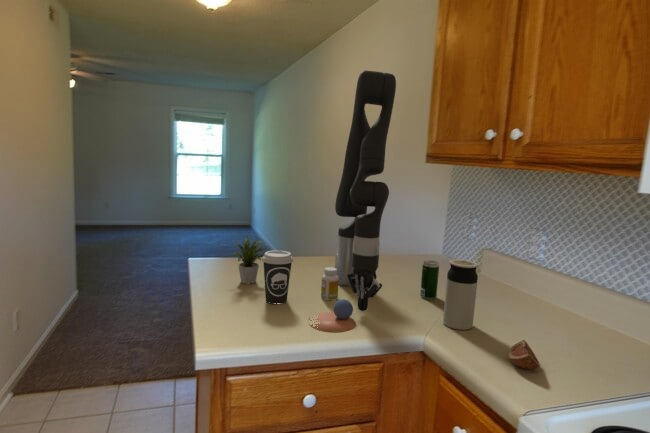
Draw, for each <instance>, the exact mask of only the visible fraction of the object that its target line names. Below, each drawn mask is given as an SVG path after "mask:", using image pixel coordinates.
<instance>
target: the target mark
mask: <svg viewBox="0 0 650 433" xmlns="http://www.w3.org/2000/svg"><path fill="white" fill-rule="evenodd" d="M318 314H319V315H318ZM314 315H316V317H317V315H318V318H317V319H315V320H318V322H320V324H319V323H318V324H315V325H316V326H315V327H314V328H313V329H315V328H317V327H318V328H317V329H316V330H318V329H319V330H318V331H321V330H322V332H326V331H327V333H343V332H346V331H349V330H351V329H353V328H354V327H356V321H355V320H354V318H352V316H350V317H349V318H347V319H339V318H338V317H336V315H335V314H334V312H320V313H316V314H314ZM312 318H313V317H312ZM314 318H315V317H314ZM308 319H309V318H308ZM309 320H310V319H309ZM313 320H314V319H313ZM319 320H320V321H319ZM310 321H312V320H310ZM316 322H317V321H316ZM314 323H315V322H314ZM317 325H318V326H317ZM312 326H313V324H312V325H311V326H310V327H312Z"/></svg>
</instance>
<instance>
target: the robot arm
mask: <svg viewBox="0 0 650 433" xmlns="http://www.w3.org/2000/svg"><path fill="white" fill-rule="evenodd" d="M396 89H397V81H396V76H395V75H394V74H393V73H390V72H383V71H376V70H375V71H374V70H367V69H366V70H361V72H360V73H359V76H358V78H357V83H356V88H355V94H354V95H355V96H354V103H353V104H354V105H353V111H352V112H353V113H352V120H351V125H350V130H349V135H348V140H347V145H346V150H345V155H344V162H343V169H342V174H341V178H340V183H339V186H338V190H337V193H336V198H335V204H334V207H335V208H334V209H335V210H334V211H335V213H336V215H337V216H339V217H341V218H342V217H343V218H354V219H353V220H351V222H349V223H347V224H344V225H341V226H340V227H339V228H338V232H337V233H338V235H337V253H336V254H335V258H334V259H335V260H334V261H335V263H334V268H336V269H337V274H336V275H337V276H338V277H339V283H338V285H341V286H345V287H351V290H352V292H353V294H356V296H357V309H358V310H359V311H361V312H365V311H367V310H368V307H369V306H368V305H369V299H370V298H371V299H372V298H374V297H375V296H376V295H377V294H378V292H379V291H380V290H381V289H382V287H383V284H382V283H381V282H380V283H379V282H378V280H377V279H378V278H377V276H378V275H377V272H376V271H377V270H378V269H379V260H380V247H381V242H380V237H381V236H380V234H381V233H380V232H381V221H382V216H383V213H384V210H385V207H386V205H387V203H388V200H389V197H390V196H389V195H390V189H389V187H388V185H387V184H386V182H384V181H372V180H371V181H370V180H366V179H367V178H368V177H371V176H377V175H381V174H382V173H383V172H384V170H385V162H386V160H385V158H386V147H387V146H386V145H387V141H388V140H387V139H388V134H389V128H390V124H391V120H392V114H393V108H394V102H395V98H396ZM366 105H375V106H380V107H381V110H380V113H379V115H378V118H377V119H376V121H375V122H374V124H373V125H372V126H370V124H369V122H368V118H367V115H366V109H365V107H366ZM368 207H373V208H374V209H373V211H371V212H369V213H368Z"/></svg>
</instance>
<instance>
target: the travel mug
mask: <svg viewBox="0 0 650 433" xmlns="http://www.w3.org/2000/svg"><path fill="white" fill-rule="evenodd" d="M449 266H450V267H449V270H448V271H447V274H446V275H447V277H446V284H445V285H446V287H445V295H444V296H445V298H444V307H443V318H442V323H443V324H444V325H445V326H447V327H448V328H449V329H453V330H458V331H459V330H460V331H467V330H470V329H473V327H474V319H475V318H474V317H475V316H474V315H475V309H476V298H477V296H476V295H477V288H478V287H477V286H478V280H479V279H478V278H479V276H478V273H477V267H478V266H479V263H477V262H475V261H472V260H467V259H459V258H458V259H451V260H449Z"/></svg>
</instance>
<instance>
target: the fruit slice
mask: <svg viewBox="0 0 650 433" xmlns="http://www.w3.org/2000/svg"><path fill="white" fill-rule="evenodd" d="M507 358H508V359H509V360H510V362H512V363H513V364H514V365H516V366H517V367H519V368H522V369H527V370H531V369H532V370H533V369H537V368H539V367H540V366H541V364H540V362H539V360H538V358H537V356H536V354H535V353H534V351H533V349H532V348H531V347H530V345H529V343H528V342H527V341H526V340H525V339H522V340H521V341H518V342H517V343H515V344H513V345H512V346H511V347H510V348H509V350H508V351H507Z"/></svg>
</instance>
